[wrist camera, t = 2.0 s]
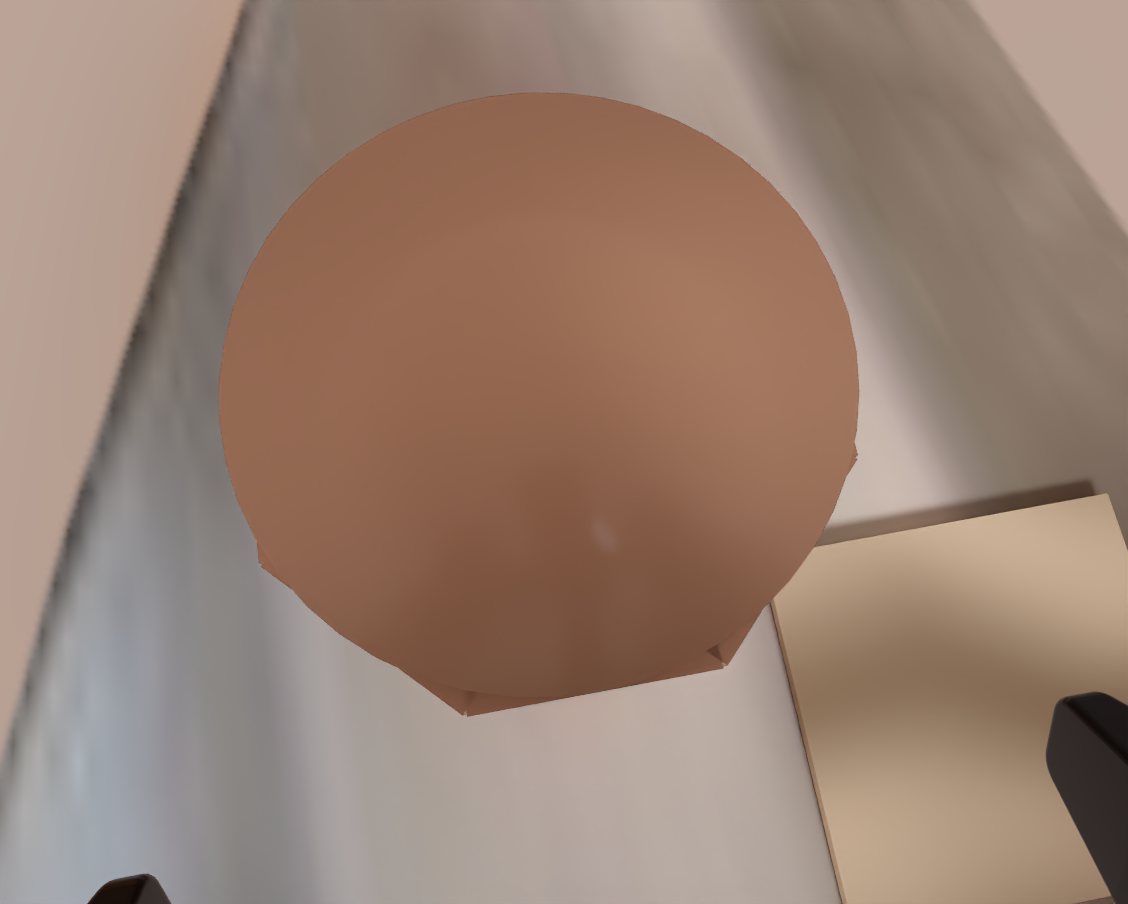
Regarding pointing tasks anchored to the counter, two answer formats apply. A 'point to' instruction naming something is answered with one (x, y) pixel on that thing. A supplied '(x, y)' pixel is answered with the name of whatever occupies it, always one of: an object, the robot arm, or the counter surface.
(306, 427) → the brown rounded shape
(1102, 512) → the coaster
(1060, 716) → the robot arm
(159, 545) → the counter surface
